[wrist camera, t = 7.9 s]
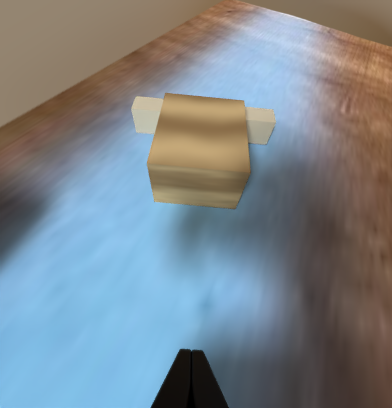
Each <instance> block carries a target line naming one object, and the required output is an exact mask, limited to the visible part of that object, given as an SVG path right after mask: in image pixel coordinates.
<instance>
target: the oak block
mask: <svg viewBox="0 0 392 408" xmlns="http://www.w3.org/2000/svg"><path fill="white" fill-rule="evenodd" d="M147 167H148V172H149V177H150V182H151V187H152V192H153V197H154V202H163V203H174V204H185V205H196V206H206V207H217V208H228V209H236V206H237V204H238V202H239V199H240V197H241V195H242V192H243V190H244V188H245V185H246V183H247V180H248V178H249V176H250V173H251V171H250V160H249V149H248V138H247V127H246V116H245V105H244V101H243V100H232V99H222V98H212V97H202V96H192V95H182V94H171V93H165V96H164V100H163V104H162V107H161V111H160V115H159V119H158V123H157V126H156V130H155V134H154V138H153V142H152V145H151V149H150V153H149V157H148V161H147Z"/></svg>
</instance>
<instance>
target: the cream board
mask: <svg viewBox="0 0 392 408" xmlns="http://www.w3.org/2000/svg"><path fill="white" fill-rule="evenodd" d="M163 100H164V99H159V98H149V97H139V96H136V98H135V100H134V103H133V106H132V108H131V109H132V114H133V119H134V123H135V128H136V132H137V133H146V134H155V130H156V126H157V123H158V119H159V115H160V111H161V107H162V104H163ZM245 116H246V127H247V138H248V143H251V144H262V145H266V144H267V142H268V140H269V137H270V135H271V133H272V131H273V128H274V126H275V124H276V120H275V116H274V111H273V110H272V109H262V108H252V107H245Z"/></svg>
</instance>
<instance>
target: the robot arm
mask: <svg viewBox="0 0 392 408" xmlns="http://www.w3.org/2000/svg"><path fill="white" fill-rule="evenodd" d="M151 408H229V407H228V405H227V403H226V401H225V398H224V396H223V394H222V392H221V389H220V387H219V385H218V383H217V381H216V378H215V376H214V374H213V372H212V369H211V367H210V365H209V363H208V360H207V358H206V356H205V354H204V352H203V351H202V350H192V352H191V350H190V349H180V350H179V352H178V354H177V356H176V358H175V360H174V362H173V364H172V366H171V368H170V370H169V372H168V374H167V376H166V378H165V380H164V382H163V384H162V386H161V388H160V390H159V392H158V394H157V396H156V398H155V400H154V402H153V404H152V406H151Z"/></svg>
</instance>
